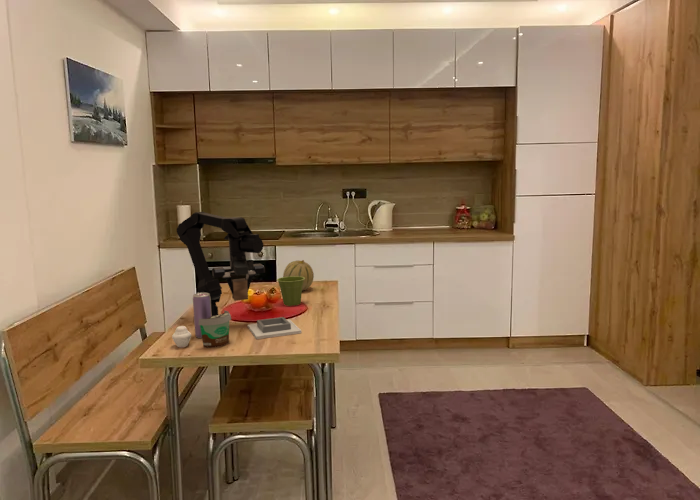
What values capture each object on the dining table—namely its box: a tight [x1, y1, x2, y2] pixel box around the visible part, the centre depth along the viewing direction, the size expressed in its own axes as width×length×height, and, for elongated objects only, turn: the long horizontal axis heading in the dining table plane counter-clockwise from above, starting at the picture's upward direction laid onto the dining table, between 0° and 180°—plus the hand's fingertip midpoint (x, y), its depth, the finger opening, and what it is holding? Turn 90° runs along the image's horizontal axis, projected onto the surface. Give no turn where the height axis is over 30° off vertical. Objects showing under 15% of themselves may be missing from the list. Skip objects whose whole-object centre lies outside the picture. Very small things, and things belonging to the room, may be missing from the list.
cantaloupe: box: [282, 259, 315, 292], centre depth 253 cm, size 15×15×15 cm
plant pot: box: [276, 276, 305, 307], centre depth 228 cm, size 12×12×11 cm
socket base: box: [247, 316, 303, 340], centre depth 191 cm, size 16×16×3 cm
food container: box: [198, 309, 232, 349], centre depth 176 cm, size 12×6×10 cm, turn 148°
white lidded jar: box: [171, 325, 192, 348], centre depth 176 cm, size 6×6×7 cm
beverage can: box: [192, 292, 212, 339], centre depth 185 cm, size 6×6×15 cm
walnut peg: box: [231, 277, 249, 302], centre depth 197 cm, size 5×5×7 cm
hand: (239, 293), depth 198 cm, fingers closed on walnut peg, 5 cm apart
